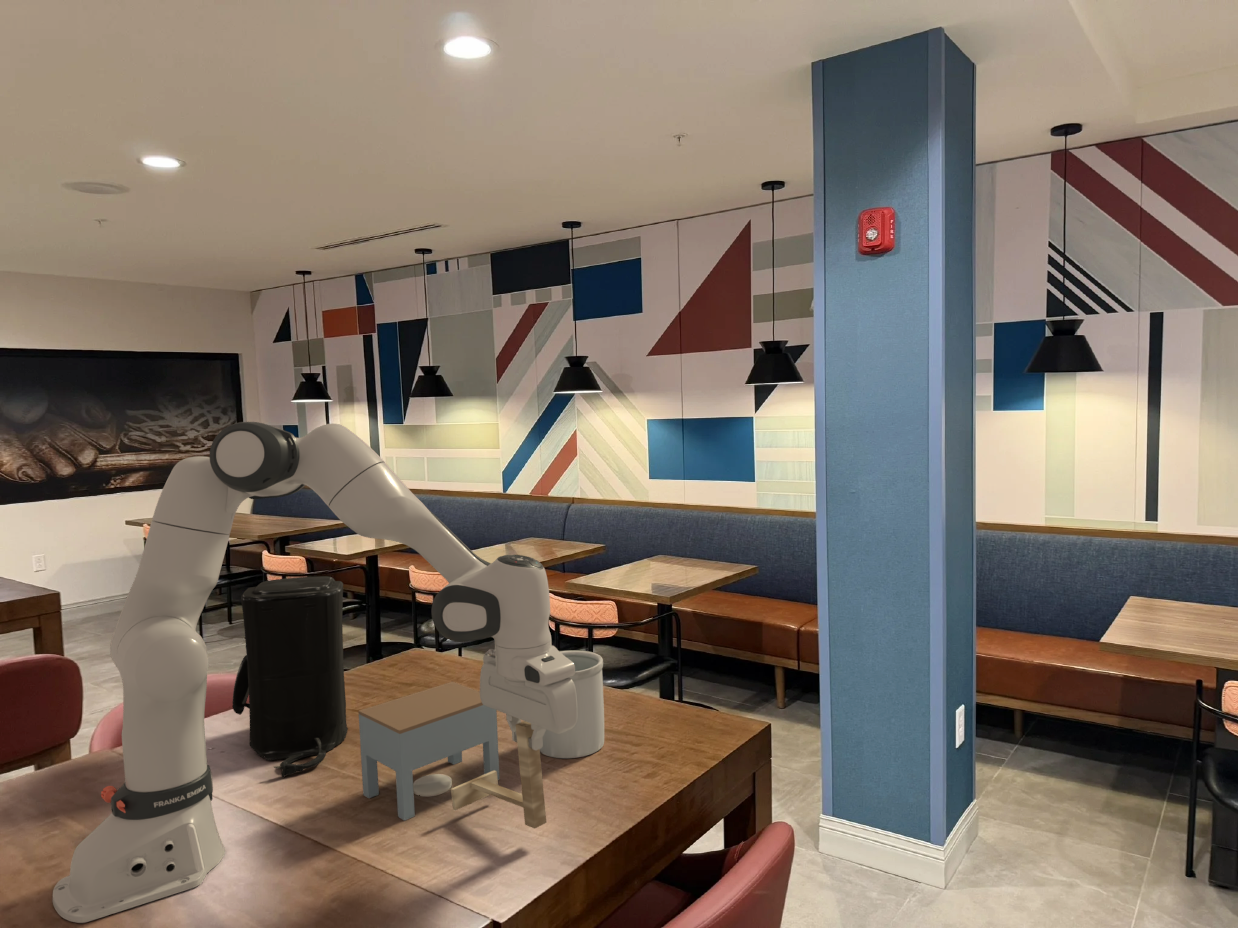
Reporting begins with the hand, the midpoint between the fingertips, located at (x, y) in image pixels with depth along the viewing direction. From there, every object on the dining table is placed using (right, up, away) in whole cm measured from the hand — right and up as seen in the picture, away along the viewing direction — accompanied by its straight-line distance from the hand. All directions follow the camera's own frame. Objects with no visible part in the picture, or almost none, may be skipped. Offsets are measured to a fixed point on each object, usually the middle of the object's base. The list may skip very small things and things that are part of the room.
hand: (527, 744), depth 128 cm
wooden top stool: (-20, -15, +21) cm, 32 cm away
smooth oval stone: (-20, -15, +21) cm, 33 cm away
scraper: (-4, -13, +6) cm, 15 cm away
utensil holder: (+4, -13, +38) cm, 40 cm away
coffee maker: (-56, -15, +44) cm, 72 cm away
